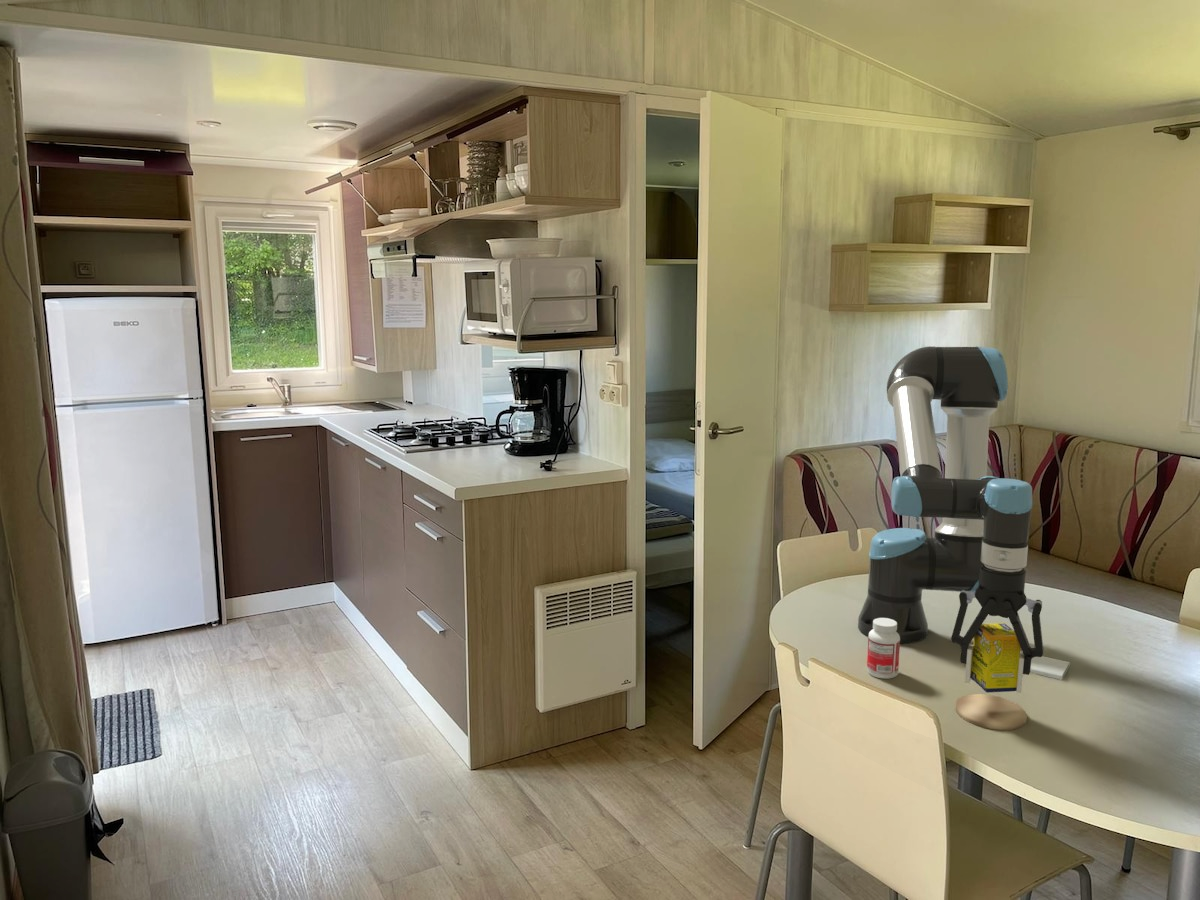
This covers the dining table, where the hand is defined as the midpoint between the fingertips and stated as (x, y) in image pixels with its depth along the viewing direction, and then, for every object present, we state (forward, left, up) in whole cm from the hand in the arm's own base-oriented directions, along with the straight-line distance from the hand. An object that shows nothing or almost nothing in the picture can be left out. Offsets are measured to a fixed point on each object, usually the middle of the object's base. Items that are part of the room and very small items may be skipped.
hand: (993, 684), depth 164 cm
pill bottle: (-21, +9, -6) cm, 24 cm away
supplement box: (0, 0, 0) cm, 1 cm away
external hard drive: (+6, +27, -7) cm, 29 cm away
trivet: (0, 0, -6) cm, 6 cm away
